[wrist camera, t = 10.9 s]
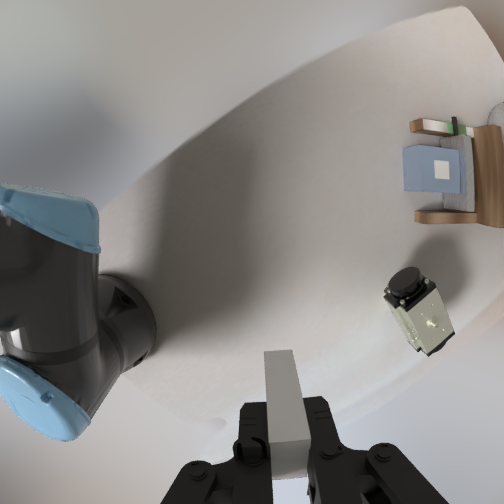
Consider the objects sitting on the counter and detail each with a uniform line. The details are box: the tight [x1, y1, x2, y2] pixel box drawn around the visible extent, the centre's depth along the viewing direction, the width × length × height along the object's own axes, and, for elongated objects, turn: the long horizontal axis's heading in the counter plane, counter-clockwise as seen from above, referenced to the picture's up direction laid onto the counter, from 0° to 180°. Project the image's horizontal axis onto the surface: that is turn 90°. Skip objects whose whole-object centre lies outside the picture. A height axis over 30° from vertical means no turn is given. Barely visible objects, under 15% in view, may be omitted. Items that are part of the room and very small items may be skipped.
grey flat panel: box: [440, 117, 474, 212], centre depth 32 cm, size 2×13×6 cm, turn 4°
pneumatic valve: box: [384, 267, 455, 357], centre depth 34 cm, size 6×12×12 cm, turn 37°
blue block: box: [403, 145, 460, 194], centre depth 34 cm, size 7×6×5 cm
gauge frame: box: [410, 119, 504, 228], centre depth 32 cm, size 12×14×8 cm
